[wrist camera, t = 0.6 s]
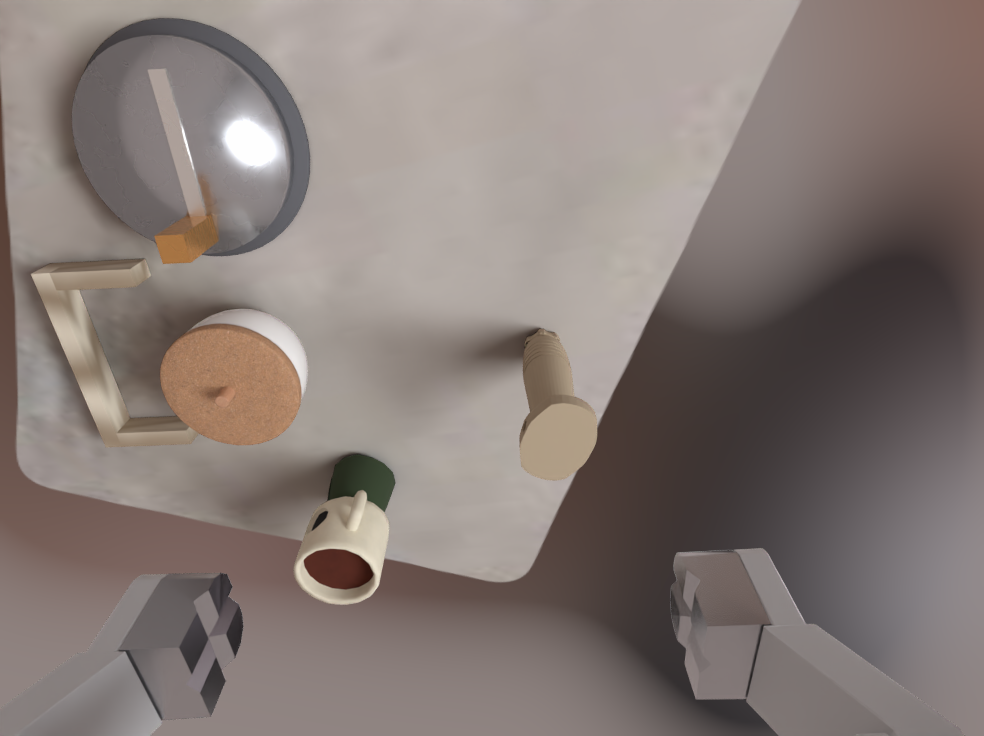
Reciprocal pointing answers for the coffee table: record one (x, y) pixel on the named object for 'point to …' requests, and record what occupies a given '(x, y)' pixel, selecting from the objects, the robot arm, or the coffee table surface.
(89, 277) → the cream u-shaped bracket
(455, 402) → the coffee table surface
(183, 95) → the turntable
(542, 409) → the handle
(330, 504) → the character mug
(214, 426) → the lidded jar
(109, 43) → the base
